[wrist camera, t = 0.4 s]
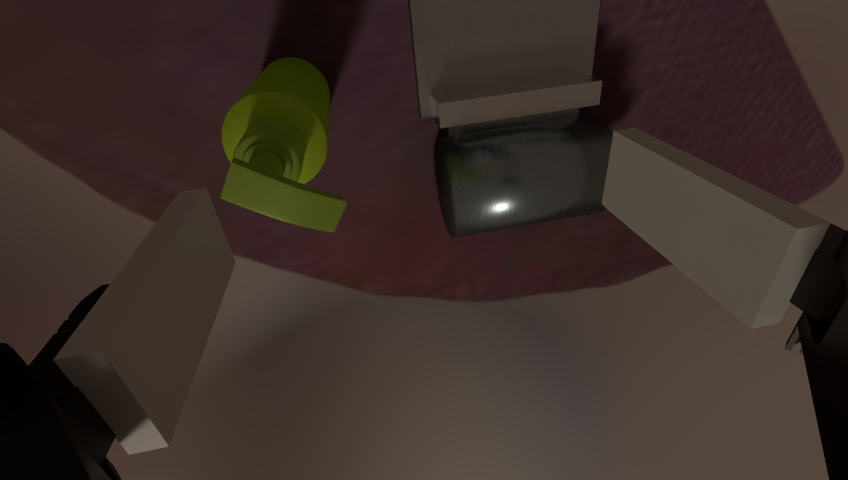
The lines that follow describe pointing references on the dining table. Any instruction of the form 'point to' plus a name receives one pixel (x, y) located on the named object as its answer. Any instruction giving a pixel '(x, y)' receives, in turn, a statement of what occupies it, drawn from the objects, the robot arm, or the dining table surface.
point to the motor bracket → (511, 109)
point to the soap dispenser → (281, 146)
